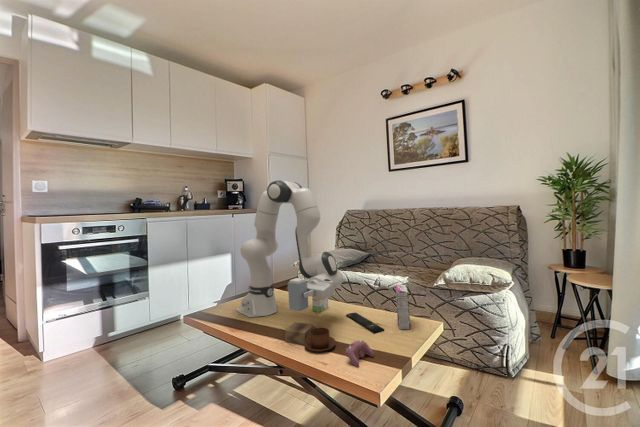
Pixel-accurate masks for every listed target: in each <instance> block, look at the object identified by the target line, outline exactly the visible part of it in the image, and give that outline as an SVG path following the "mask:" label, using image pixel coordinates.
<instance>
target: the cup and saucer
mask: <svg viewBox="0 0 640 427" xmlns="http://www.w3.org/2000/svg"><path fill="white" fill-rule="evenodd" d="M336 342H337V341H336V339H335V338H334V337H332V336H330V330H329V329H328V328H327V327H323V326H321V327H320V326H319V327H314V329H312V330H311V331H310V336H309V337H307V338H306V341H305V343H304V344H305V345H304V346H305V348H307V349H308V350H309V351H312V352H317V353H318V352H326V351H328V350H329V351H330V350H332V349H333V348H334V347H335V346H336V344H337V343H336Z"/></svg>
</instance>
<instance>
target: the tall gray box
mask: <svg viewBox="0 0 640 427" xmlns="http://www.w3.org/2000/svg"><path fill="white" fill-rule="evenodd" d="M307 282H308V280H306V279H305V278H299V277H295V278H293V279H290V280H289V281H288V282H287V292H288V308H289V309H288V310H290V311H295V312H302V311H304V310H306V309H308V308H309V297H306V298H304V297H302V293H303V292H308V291H307Z"/></svg>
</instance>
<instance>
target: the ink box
mask: <svg viewBox="0 0 640 427" xmlns="http://www.w3.org/2000/svg"><path fill="white" fill-rule="evenodd" d="M311 300H312V301H311V302H312V303H311V304H312V312H318V313H321V312H323V311H325V310H326V309H328V308H329V297H327V298H317V297H312V296H311Z"/></svg>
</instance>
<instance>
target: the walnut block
mask: <svg viewBox="0 0 640 427" xmlns="http://www.w3.org/2000/svg"><path fill="white" fill-rule="evenodd" d="M314 328H315V324H313V323H304V322H296V321H295V322H293V323H292V324H290V325H289V326H288V327H287V328H286V329H285V330H284V342H285V343H288V344H295V345H303V346H305V344H304V343H305V341H306V338H307V337H309V336H310V331H311V330H312V329H314Z"/></svg>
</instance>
